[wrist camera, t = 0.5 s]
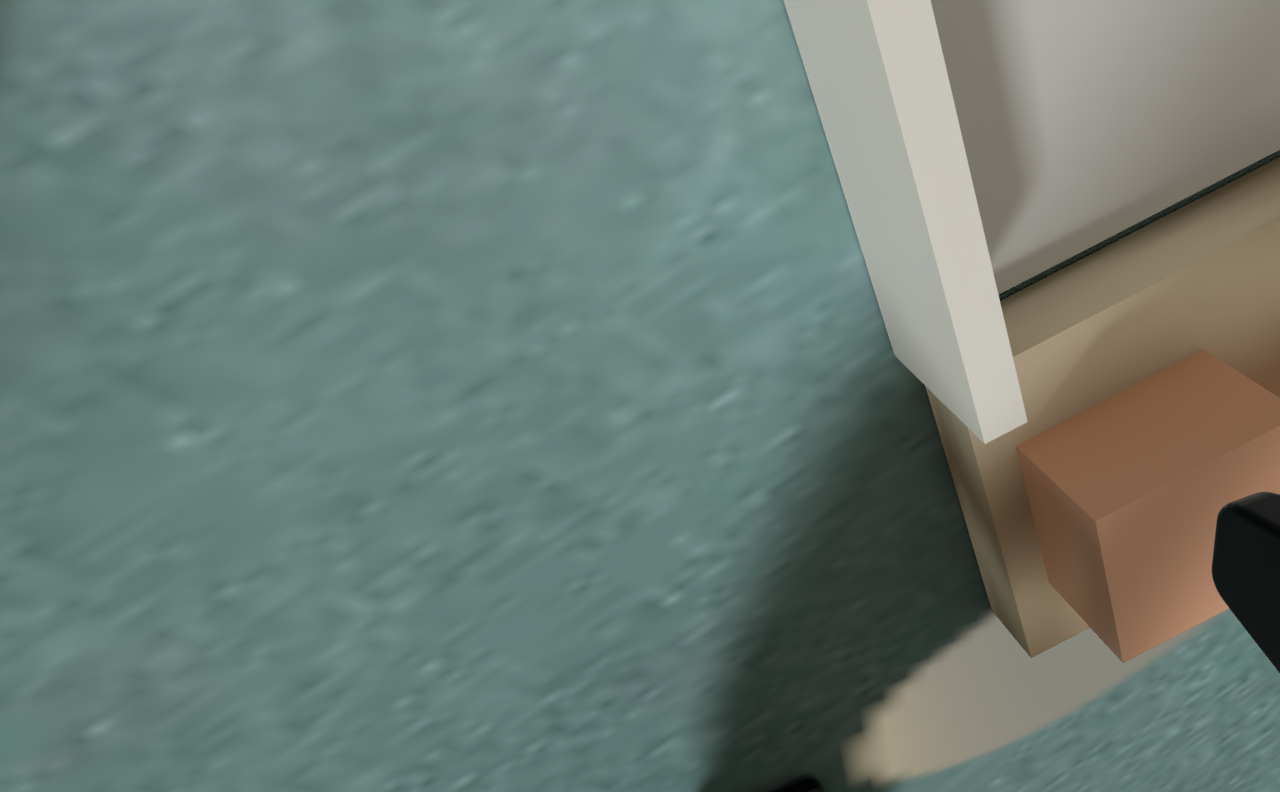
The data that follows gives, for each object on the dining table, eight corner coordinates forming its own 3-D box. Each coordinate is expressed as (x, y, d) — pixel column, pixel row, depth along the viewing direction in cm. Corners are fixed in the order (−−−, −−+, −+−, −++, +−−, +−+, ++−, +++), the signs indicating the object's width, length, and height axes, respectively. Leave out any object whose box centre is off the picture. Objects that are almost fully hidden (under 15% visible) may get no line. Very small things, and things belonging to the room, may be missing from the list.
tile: (1217, 495, 27) (1307, 566, 25) (1049, 582, 27) (1123, 663, 25) (1203, 348, 25) (1303, 412, 22) (1016, 446, 25) (1095, 521, 22)
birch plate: (1444, 374, 31) (1510, 408, 29) (991, 610, 30) (1031, 658, 29) (1467, 60, 25) (1550, 80, 23) (912, 345, 25) (956, 386, 23)
